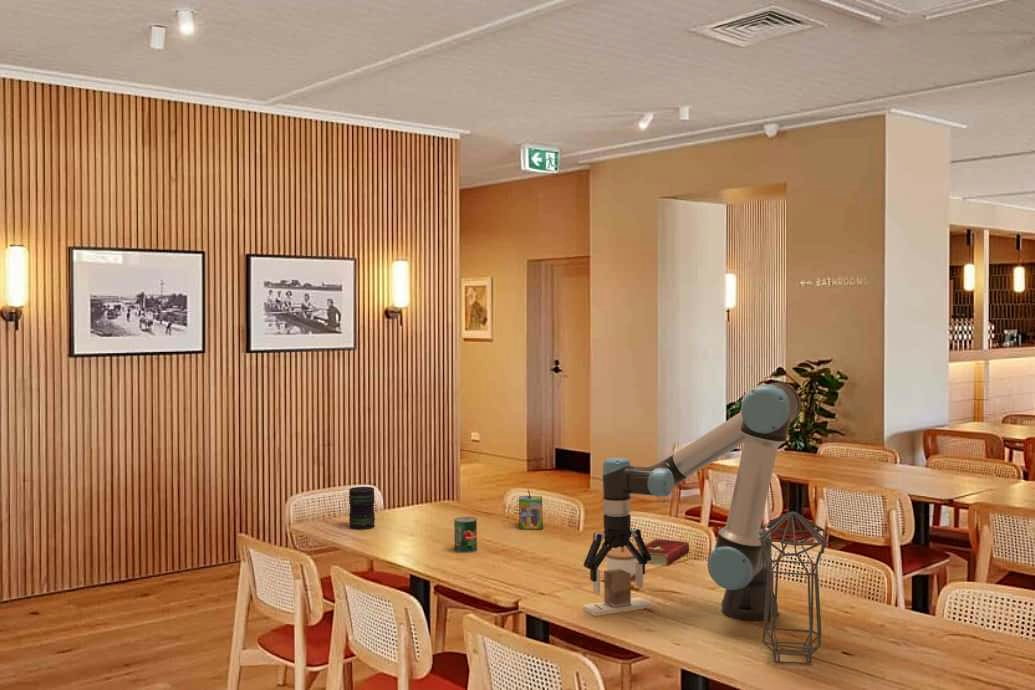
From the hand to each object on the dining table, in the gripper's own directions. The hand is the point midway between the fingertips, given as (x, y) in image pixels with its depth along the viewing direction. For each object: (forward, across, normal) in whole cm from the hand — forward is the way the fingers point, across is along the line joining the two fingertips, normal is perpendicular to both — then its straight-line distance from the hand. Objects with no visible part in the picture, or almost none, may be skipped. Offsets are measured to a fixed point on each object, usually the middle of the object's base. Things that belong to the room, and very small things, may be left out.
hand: (618, 589), depth 276 cm
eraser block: (+4, 0, 0) cm, 4 cm away
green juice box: (+5, -22, -107) cm, 109 cm away
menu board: (+5, 0, 0) cm, 5 cm away
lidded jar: (+6, -18, -29) cm, 34 cm away
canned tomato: (+5, +14, -83) cm, 84 cm away
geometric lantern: (+6, -18, +52) cm, 56 cm away
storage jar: (+4, +37, -136) cm, 141 cm away
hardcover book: (+6, -42, -45) cm, 62 cm away
